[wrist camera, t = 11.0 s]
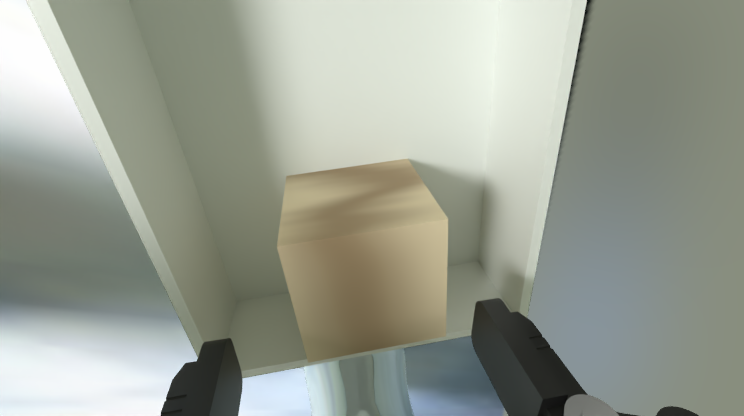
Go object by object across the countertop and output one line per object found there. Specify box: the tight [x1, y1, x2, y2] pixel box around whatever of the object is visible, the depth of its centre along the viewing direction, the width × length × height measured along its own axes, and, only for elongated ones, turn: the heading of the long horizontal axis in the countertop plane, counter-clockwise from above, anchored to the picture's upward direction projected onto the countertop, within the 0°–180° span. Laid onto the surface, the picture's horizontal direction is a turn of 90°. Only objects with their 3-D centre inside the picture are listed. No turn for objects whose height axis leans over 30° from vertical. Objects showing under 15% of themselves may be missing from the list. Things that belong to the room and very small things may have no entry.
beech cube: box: [277, 159, 448, 363], centre depth 14 cm, size 5×5×5 cm
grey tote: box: [26, 0, 587, 378], centre depth 12 cm, size 17×13×5 cm
